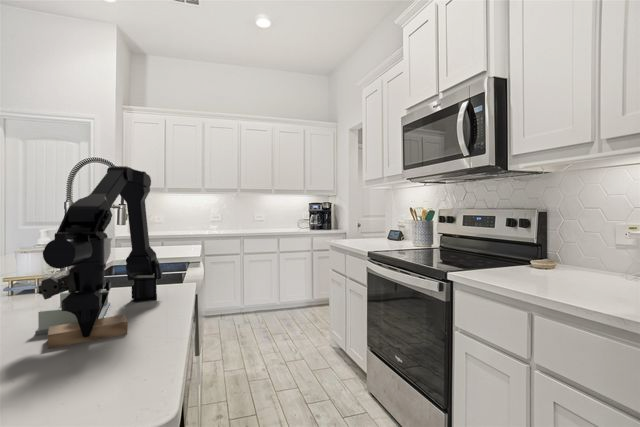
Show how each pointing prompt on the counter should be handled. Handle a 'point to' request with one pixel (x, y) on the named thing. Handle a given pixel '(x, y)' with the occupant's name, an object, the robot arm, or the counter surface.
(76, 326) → the shelf board
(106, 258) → the chalice
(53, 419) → the counter surface
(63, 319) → the peg cradle
